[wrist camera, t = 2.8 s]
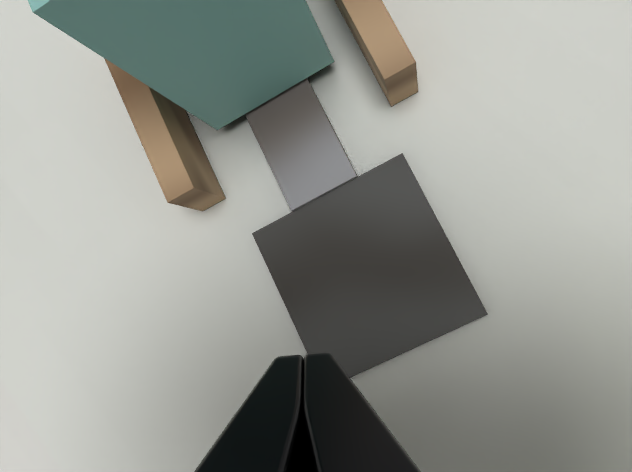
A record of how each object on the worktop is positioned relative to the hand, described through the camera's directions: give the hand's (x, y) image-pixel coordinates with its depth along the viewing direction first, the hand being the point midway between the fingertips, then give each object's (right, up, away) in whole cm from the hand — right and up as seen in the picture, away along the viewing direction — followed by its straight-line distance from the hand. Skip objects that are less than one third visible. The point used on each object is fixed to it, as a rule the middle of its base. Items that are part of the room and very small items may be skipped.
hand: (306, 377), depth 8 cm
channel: (-2, +10, +14) cm, 17 cm away
